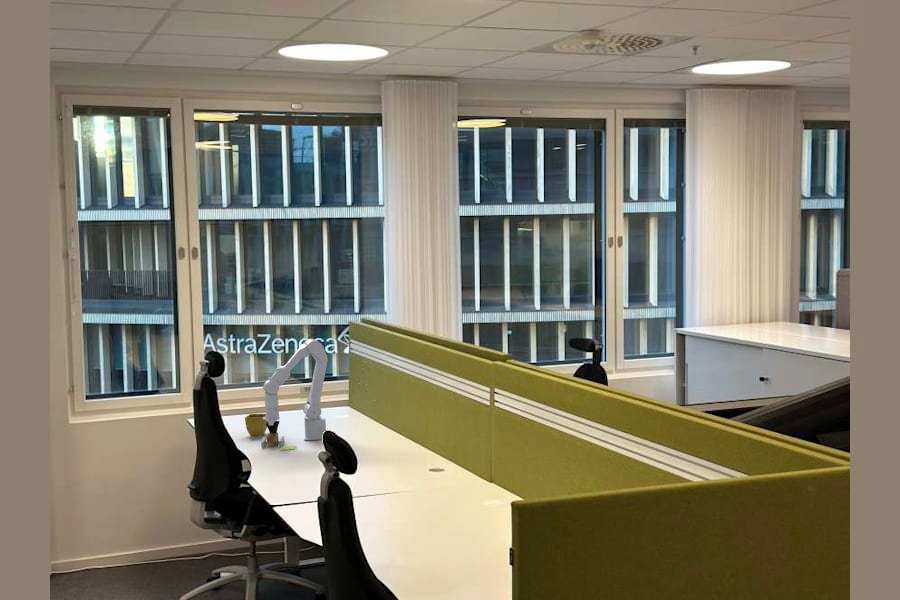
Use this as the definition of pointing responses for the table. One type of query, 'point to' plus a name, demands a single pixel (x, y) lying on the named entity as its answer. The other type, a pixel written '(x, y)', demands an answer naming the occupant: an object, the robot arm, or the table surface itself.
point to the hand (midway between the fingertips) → (273, 438)
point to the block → (272, 440)
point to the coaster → (287, 448)
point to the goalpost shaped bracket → (266, 442)
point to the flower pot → (256, 424)
